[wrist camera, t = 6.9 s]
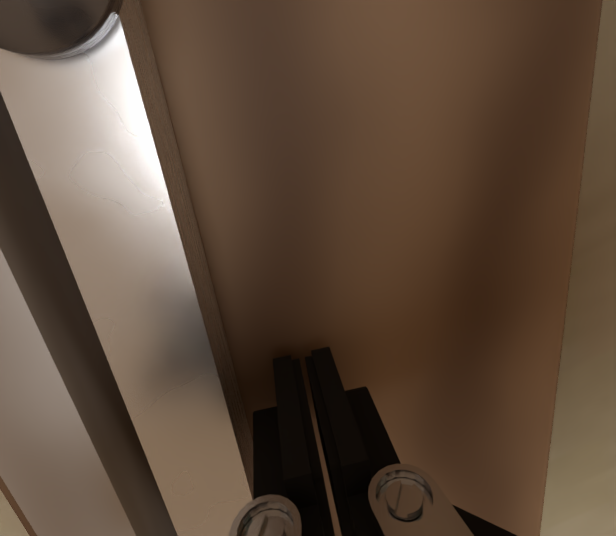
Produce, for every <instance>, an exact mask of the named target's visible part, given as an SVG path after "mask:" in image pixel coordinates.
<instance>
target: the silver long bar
mask: <svg viewBox="0 0 616 536" xmlns="http://www.w3.org/2000/svg"><path fill="white" fill-rule="evenodd" d="M0 92H1V94H2V97H3V99H4V102H5V104H6V107H7V109H8V112H9V114H10V117H11V119H12V122H13V124H14V127H15V129H16V132H17V134H18V137H19V139H20V142H21V144H22V147H23V149H24V152H25V154H26V157H27V159H28V162H29V164H30V167H31V169H32V172H33V174H34V177H35V179H36V182H37V184H38V187H39V189H40V192H41V194H42V197H43V199H44V202H45V204H46V207H47V209H48V212H49V214H50V217H51V219H52V222H53V224H54V227H55V229H56V232H57V234H58V237H59V239H60V242H61V244H62V247H63V249H64V252H65V255H66V257H67V260H68V262H69V265H70V267H71V270H72V272H73V275H74V277H75V280H76V282H77V285H78V287H79V290H80V292H81V295H82V297H83V300H84V302H85V305H86V307H87V310H88V312H89V315H90V317H91V320H92V322H93V325H94V327H95V330H96V332H97V335H98V337H99V340H100V342H101V345H102V347H103V350H104V352H105V355H106V357H107V360H108V362H109V365H110V367H111V370H112V372H113V375H114V377H115V380H116V382H117V385H118V387H119V390H120V392H121V395H122V397H123V400H124V402H125V405H126V407H127V410H128V412H129V415H130V417H131V420H132V422H133V425H134V427H135V430H136V432H137V435H138V438H139V440H140V443H141V445H142V448H143V450H144V453H145V455H146V458H147V460H148V463H149V465H150V468H151V470H152V473H153V475H154V478H155V480H156V483H157V485H158V488H159V490H160V493H161V495H162V498H163V500H164V503H165V505H166V508H167V510H168V513H169V515H170V518H171V520H172V523H173V525H174V528H175V530H176V533H177V535H178V536H229V531H230V528H231V525H232V523H233V520H234V519H235V517H236V516H237V514H238V513H239V511H240V510H241V509H242V508H243V507H244V506H245V505H246V504H247V503H249V502H250V501H252V500H254V499H253V441H252V437H251V433H250V429H249V425H248V422H247V418H246V414H245V410H244V406H243V402H242V398H241V394H240V390H239V386H238V382H237V378H236V374H235V371H234V367H233V363H232V359H231V355H230V351H229V347H228V343H227V339H226V335H225V331H224V327H223V324H222V320H221V316H220V312H219V308H218V304H217V300H216V296H215V292H214V288H213V284H212V280H211V276H210V273H209V269H208V265H207V261H206V257H205V253H204V249H203V245H202V241H201V237H200V233H199V229H198V225H197V222H196V218H195V214H194V210H193V206H192V202H191V198H190V194H189V190H188V186H187V182H186V178H185V175H184V171H183V167H182V163H181V159H180V155H179V151H178V147H177V143H176V139H175V135H174V131H173V127H172V124H171V120H170V116H169V112H168V108H167V104H166V100H165V96H164V92H163V88H162V84H161V80H160V76H159V73H158V69H157V65H156V61H155V57H154V53H153V49H152V45H151V41H150V37H149V33H148V29H147V26H146V22H145V18H144V14H143V10H142V6H141V2H140V0H0Z"/></svg>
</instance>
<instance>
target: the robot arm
mask: <svg viewBox="0 0 616 536" xmlns="http://www.w3.org/2000/svg"><path fill="white" fill-rule="evenodd" d="M305 362H306V367H307V372H308V377H309V383H310V388H311V393H312V399H313V404H314V409H315V414H316V420H317V425H318V430H319V435H320V440H321V444H322V449H323V453H324V458H325V463H326V467H327V472H328V476H329V481H330V485H331V490H332V494H333V499H334V503H335V508H336V512H337V517H338V521H339V526H340V530H341V535H342V536H517V535H515V534H513V533H511V532H509V531H507V530H505V529H503V528H501V527H499V526H496V525H494V524H492V523H490V522H488V521H486V520H484V519H482V518H480V517H478V516H475V515H473V514H471V513H469V512H467V511H465V510H463V509H461V508H459V507H457V506H455V505H452V504H451V503H450V501H449V500H448V498H447V497H446V496H445V494H444V493H443V491H442V490H441V489H440V487H439V486H438V484H437V483H436V482H435V480H434V479H433V478H432V477H431V476H430V475H429V474H428V473H427V472H425V471H423V470H422V469H420V468H419V467H416V466H412V465H409V464H401V463H400V460H399V458H398V456H397V454H396V451H395V449H394V447H393V444H392V442H391V440H390V438H389V435H388V433H387V431H386V429H385V426H384V424H383V422H382V420H381V417H380V415H379V413H378V411H377V408H376V406H375V404H374V401H373V399H372V397H371V395H370V392H369V390H368V388H367V387H366V386H364V387H360V388H355V389H351V390H346V391H345V390H344V387H343V384H342V381H341V378H340V376H339V373H338V370H337V367H336V364H335V361H334V359H333V356H332V353H331V350H330V347H324V348H320V349H315V350H311V356H307V357H305ZM273 371H274V382H275V393H276V403H277V406H275V407H271V408H266V409H262V410H257V411H254V412H253V499H254V500H252V501H250V502H249V503H247V504H246V505H245V506H244V507H243V508H242V509H241V510H240V511H239V513H238V514H237V516H236V517H235V519H234V520H233V523H232V525H231V528H230V531H229V536H335V533H334V528H333V523H332V518H331V513H330V508H329V502H328V497H327V492H326V487H325V482H324V477H323V472H322V467H321V462H320V457H319V452H318V447H317V442H316V438H315V433H314V428H313V423H312V418H311V413H310V408H309V404H308V399H307V394H306V389H305V384H304V379H303V375H302V370H301V365H300V360H299V358H297V359H293V360H292V357H291V355H287V356H282V357H278V358H273Z"/></svg>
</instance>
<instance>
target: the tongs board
mask: <svg viewBox="0 0 616 536" xmlns="http://www.w3.org/2000/svg"><path fill="white" fill-rule="evenodd" d="M140 2H141V6H142V10H143V14H144V18H145V22H146V26H147V29H148V33H149V37H150V41H151V45H152V49H153V53H154V57H155V61H156V65H157V69H158V73H159V76H160V80H161V84H162V88H163V92H164V96H165V100H166V104H167V108H168V112H169V116H170V120H171V124H172V127H173V131H174V135H175V139H176V143H177V147H178V151H179V155H180V159H181V163H182V167H183V171H184V175H185V178H186V182H187V186H188V190H189V194H190V198H191V202H192V206H193V210H194V214H195V218H196V222H197V225H198V229H199V233H200V237H201V241H202V245H203V249H204V253H205V257H206V261H207V265H208V269H209V273H210V276H211V280H212V284H213V288H214V292H215V296H216V300H217V304H218V308H219V312H220V316H221V320H222V324H223V327H224V331H225V335H226V339H227V343H228V347H229V351H230V355H231V359H232V363H233V367H234V371H235V374H236V378H237V382H238V386H239V390H240V394H241V398H242V402H243V406H244V410H245V414H246V418H247V422H248V425H249V429H250V433H251V437H252V441H253V412H254V411H257V410H262V409H266V408H271V407H275V406H277V403H276V393H275V382H274V371H273V358H278V357H282V356H287V355H291V357H292V360H293V359H297V358H299V360H300V365H301V370H302V375H303V379H304V384H305V389H306V394H307V399H308V404H309V408H310V413H311V418H312V423H313V428H314V433H315V438H316V442H317V447H318V452H319V457H320V462H321V467H322V472H323V477H324V482H325V487H326V492H327V497H328V502H329V508H330V513H331V518H332V523H333V528H334V533H335V536H342V535H341V530H340V526H339V521H338V517H337V512H336V508H335V503H334V499H333V494H332V490H331V485H330V481H329V476H328V472H327V467H326V463H325V458H324V453H323V449H322V444H321V440H320V435H319V430H318V425H317V420H316V414H315V409H314V404H313V399H312V393H311V388H310V383H309V377H308V372H307V367H306V362H305V357H307V356H311V350H315V349H320V348H324V347H330V350H331V353H332V356H333V359H334V361H335V364H336V367H337V370H338V373H339V376H340V378H341V381H342V384H343V387H344V390H345V391H346V390H351V389H355V388H360V387H364V386H366V387H367V388H368V390H369V392H370V395H371V397H372V399H373V401H374V404H375V406H376V408H377V411H378V413H379V415H380V417H381V420H382V422H383V424H384V426H385V429H386V431H387V433H388V435H389V438H390V440H391V442H392V444H393V447H394V449H395V451H396V454H397V456H398V458H399V460H400V463H401V464H409V465H412V466H416V467H419V468H420V469H422V470H423V471H425V472H427V473H428V474H429V475H430V476H431V477H432V478H433V479H434V480H435V482H436V483H437V484H438V486H439V487H440V489H441V490H442V491H443V493H444V494H445V496H446V497H447V498H448V500H449V501H450V503H451V504H452V505H455V506H457V507H459V508H461V509H463V510H465V511H467V512H469V513H471V514H473V515H475V516H478V517H480V518H482V519H484V520H486V521H488V522H490V523H492V524H494V525H496V526H499V527H501V528H503V529H505V530H507V531H509V532H511V533H513V534H515V535H517V536H540V528H541V520H542V511H543V503H544V494H545V486H546V477H547V468H548V460H549V451H550V443H551V434H552V426H553V417H554V409H555V400H556V391H557V383H558V374H559V366H560V357H561V349H562V340H563V332H564V323H565V314H566V306H567V297H568V289H569V280H570V272H571V263H572V255H573V246H574V237H575V229H576V220H577V212H578V203H579V195H580V186H581V178H582V169H583V161H584V152H585V143H586V135H587V126H588V118H589V109H590V101H591V92H592V84H593V75H594V66H595V58H596V49H597V41H598V32H599V24H600V15H601V7H602V0H140ZM0 489H1V491H2V492H3V494H4V496H5V497H6V499H7V500H8V502H9V504H10V505H11V507H12V508H13V510H14V511H15V513H16V515H17V516H18V518H19V519H20V521H21V523H22V524H23V526H24V527H25V529H26V531H27V532H28V534H29V535H30V536H178V535H177V533H176V530H175V528H174V525H173V523H172V520H171V518H170V515H169V513H168V510H167V508H166V505H165V503H164V500H163V498H162V495H161V493H160V490H159V488H158V485H157V483H156V480H155V478H154V475H153V473H152V470H151V468H150V465H149V463H148V460H147V458H146V455H145V453H144V450H143V448H142V445H141V443H140V440H139V438H138V435H137V432H136V430H135V427H134V425H133V422H132V420H131V417H130V415H129V412H128V410H127V407H126V405H125V402H124V400H123V397H122V395H121V392H120V390H119V387H118V385H117V382H116V380H115V377H114V375H113V372H112V370H111V367H110V365H109V362H108V360H107V357H106V355H105V352H104V350H103V347H102V345H101V342H100V340H99V337H98V335H97V332H96V330H95V327H94V325H93V322H92V320H91V317H90V315H89V312H88V310H87V307H86V305H85V302H84V300H83V297H82V295H81V292H80V290H79V287H78V285H77V282H76V280H75V277H74V275H73V272H72V270H71V267H70V265H69V262H68V260H67V257H66V255H65V252H64V249H63V247H62V244H61V242H60V239H59V237H58V234H57V232H56V229H55V227H54V224H53V222H52V219H51V217H50V214H49V212H48V209H47V207H46V204H45V202H44V199H43V197H42V194H41V192H40V189H39V187H38V184H37V182H36V179H35V177H34V174H33V172H32V169H31V167H30V164H29V162H28V159H27V157H26V154H25V152H24V149H23V147H22V144H21V142H20V139H19V137H18V134H17V132H16V129H15V127H14V124H13V122H12V119H11V117H10V114H9V112H8V109H7V107H6V104H5V102H4V99H3V97H2V94H1V92H0Z"/></svg>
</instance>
